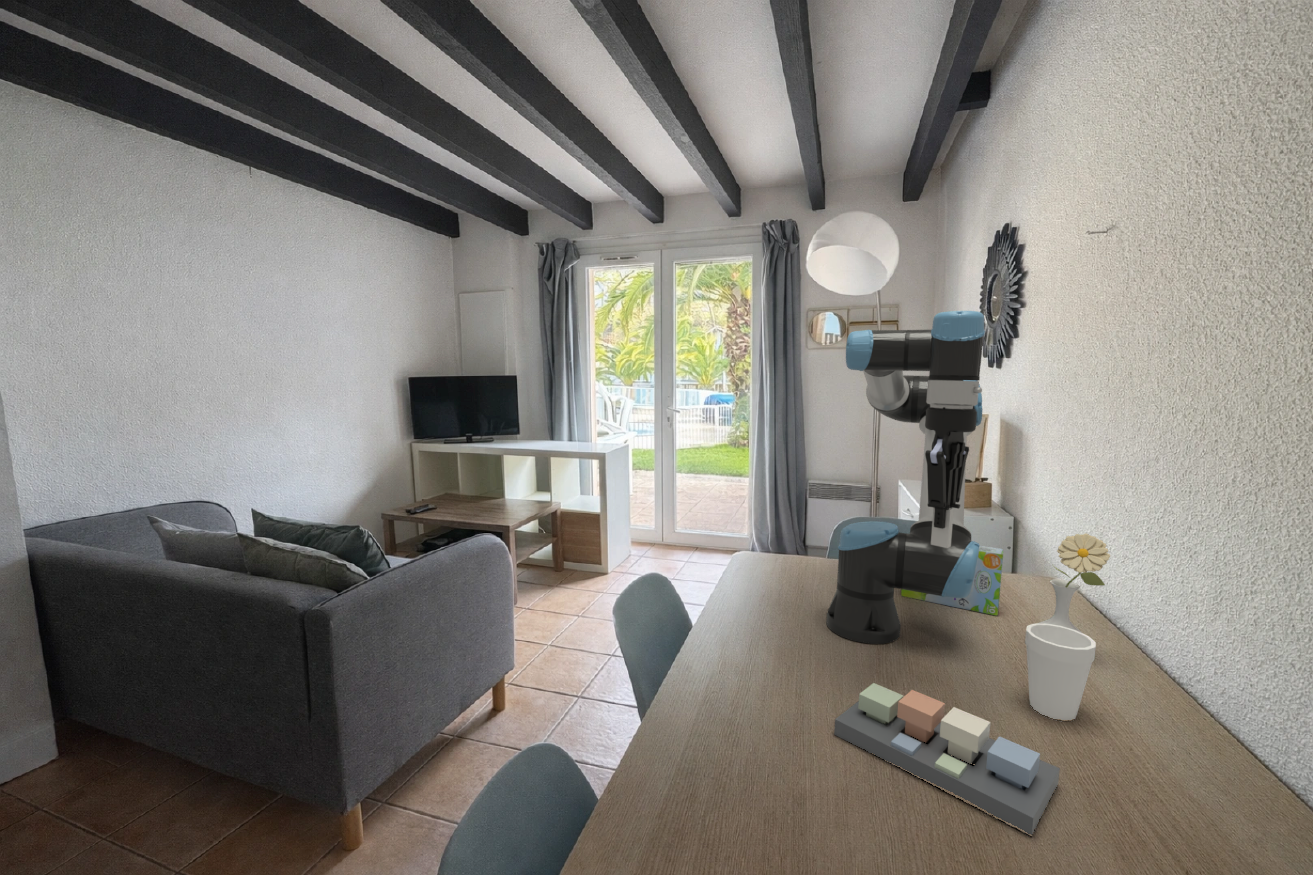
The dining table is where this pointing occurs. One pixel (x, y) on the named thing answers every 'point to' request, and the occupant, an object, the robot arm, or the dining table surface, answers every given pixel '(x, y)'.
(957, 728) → the key cream
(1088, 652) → the foam cup
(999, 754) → the key slate
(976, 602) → the snack box
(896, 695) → the key sage
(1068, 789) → the dining table surface
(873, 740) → the keypad
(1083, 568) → the flower in vase
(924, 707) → the key terracotta
